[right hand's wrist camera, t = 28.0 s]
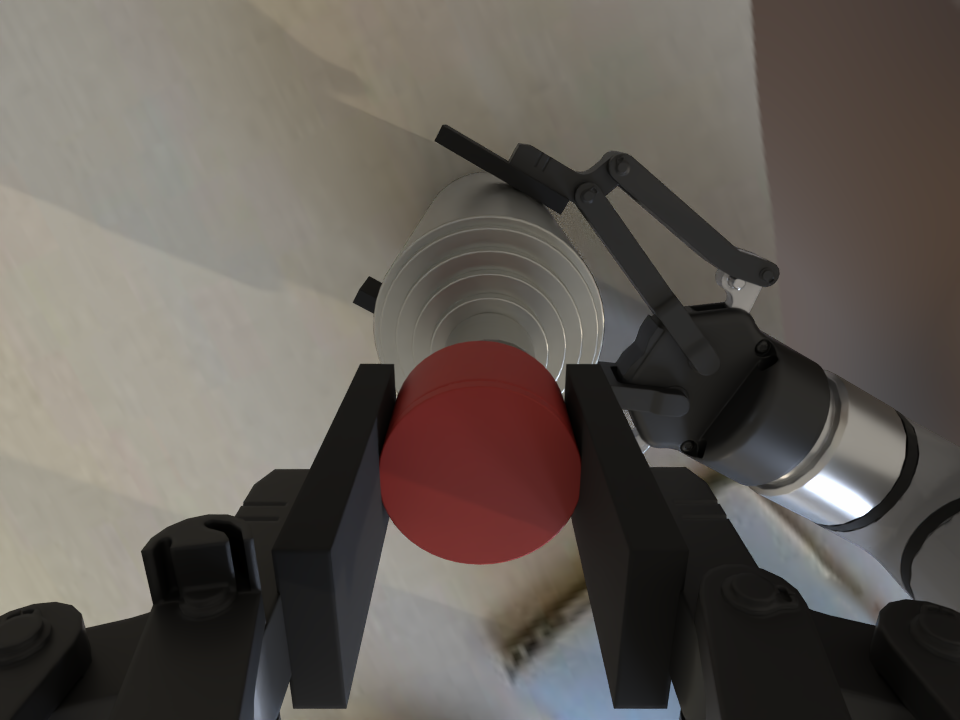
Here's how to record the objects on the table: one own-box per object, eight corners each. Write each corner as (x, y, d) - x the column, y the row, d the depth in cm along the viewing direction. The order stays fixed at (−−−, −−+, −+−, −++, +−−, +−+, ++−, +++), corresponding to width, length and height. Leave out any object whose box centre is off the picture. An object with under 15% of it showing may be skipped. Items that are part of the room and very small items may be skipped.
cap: (544, 319, 14) (557, 363, 11) (582, 473, 15) (601, 541, 13) (371, 364, 14) (348, 415, 12) (422, 510, 15) (412, 583, 13)
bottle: (531, 318, 39) (584, 553, 18) (408, 285, 38) (313, 488, 17) (570, 193, 36) (688, 295, 15) (439, 155, 36) (373, 208, 15)
